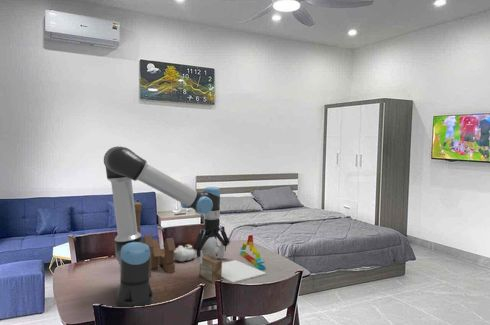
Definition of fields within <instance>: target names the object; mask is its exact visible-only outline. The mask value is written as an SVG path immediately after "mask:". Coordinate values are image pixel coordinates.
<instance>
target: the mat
mask: <svg viewBox="0 0 490 325" xmlns="http://www.w3.org/2000/svg"><path fill="white" fill-rule="evenodd" d="M266 275H267V272H264V270H259V269H258V268H256V267H253V266H250V265H249V264H247V263H243V262H242V261H241V262H240V261H238V260H237V259H235V260H230V261H226V262H222V277H221V279H223V280H225V281H227V282H229V283H231V284H237V283H240V282H243V281H247V280H251V279H254V278H258V277H264V276H266Z"/></svg>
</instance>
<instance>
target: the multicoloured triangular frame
mask: <svg viewBox="0 0 490 325" xmlns="http://www.w3.org/2000/svg"><path fill="white" fill-rule="evenodd" d="M253 235H254V234H251V235H250V234H249V235H248V237H247V241H246V242H243V243H242V247H239V249H240V250H241V251H240V250H239V255H240V256H241V257H242V258H244V259H246V260H247V262H249V263H251V265H253V266H255V268H256V269H258V270H260V271H265V270H266V265H264V263H265V261H262V259H261V254H260V252H259V251H258V250H257V246H256V247H255V246H254V236H253ZM247 246H249V252H250V251H251V252H252V254H253V255H255V258H254V257H253V256H252V255H250V254H248V252H247V251H245V250H246V249H247Z"/></svg>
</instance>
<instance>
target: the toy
mask: <svg viewBox="0 0 490 325" xmlns="http://www.w3.org/2000/svg"><path fill="white" fill-rule="evenodd" d="M204 234H205V232H204ZM204 234H203V236H204ZM202 238H203V237H202ZM216 238H217V237H211V238H210V237H209V239H207V241H206V243H205V244H204V246H203V247H202V249H201V250H202V256H205V255H210V256H212V257H214V258H216V259H219V258H221V257H220V255H221V245H222V243H221V244H220V245H218V240H217V239H216ZM228 240H229V244H227V246H226V248H228V246H229V245H231V244H230V243H231V238H230V237H228ZM196 258H197V259H198V257H197V256H196Z"/></svg>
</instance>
